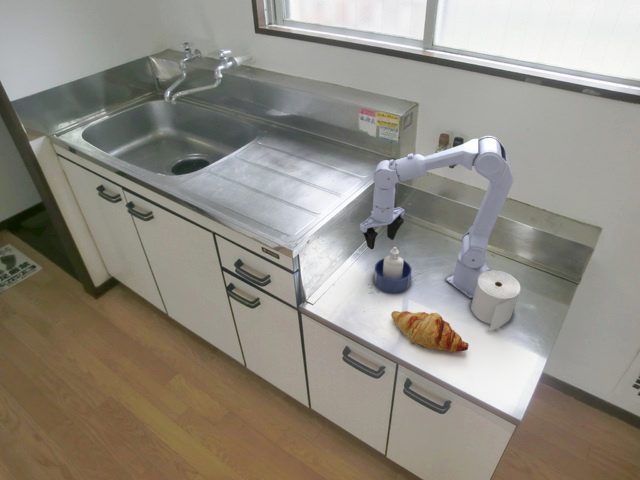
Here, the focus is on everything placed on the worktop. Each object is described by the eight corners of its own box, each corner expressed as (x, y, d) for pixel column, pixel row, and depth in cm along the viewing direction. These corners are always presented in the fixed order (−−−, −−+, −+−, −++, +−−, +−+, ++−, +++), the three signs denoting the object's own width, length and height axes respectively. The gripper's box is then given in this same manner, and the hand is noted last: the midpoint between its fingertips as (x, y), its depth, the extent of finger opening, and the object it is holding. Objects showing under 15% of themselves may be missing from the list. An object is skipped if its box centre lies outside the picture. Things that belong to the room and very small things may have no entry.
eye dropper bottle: (395, 287, 131) (398, 255, 124) (379, 279, 134) (382, 247, 127) (404, 279, 134) (407, 248, 126) (388, 271, 137) (391, 240, 129)
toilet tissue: (497, 293, 129) (505, 267, 123) (522, 324, 120) (532, 297, 114) (463, 300, 127) (470, 274, 121) (486, 332, 118) (494, 305, 112)
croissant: (385, 333, 123) (379, 324, 116) (401, 301, 126) (396, 290, 119) (461, 368, 113) (459, 361, 106) (476, 333, 116) (476, 323, 109)
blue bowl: (417, 283, 133) (419, 271, 130) (390, 298, 129) (391, 286, 126) (393, 264, 140) (394, 252, 137) (366, 278, 136) (367, 266, 133)
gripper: (393, 189, 130) (390, 227, 138) (353, 205, 123) (352, 244, 132) (411, 199, 125) (406, 239, 133) (370, 217, 119) (367, 257, 127)
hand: (380, 242), depth 132 cm, fingers open, 7 cm apart
